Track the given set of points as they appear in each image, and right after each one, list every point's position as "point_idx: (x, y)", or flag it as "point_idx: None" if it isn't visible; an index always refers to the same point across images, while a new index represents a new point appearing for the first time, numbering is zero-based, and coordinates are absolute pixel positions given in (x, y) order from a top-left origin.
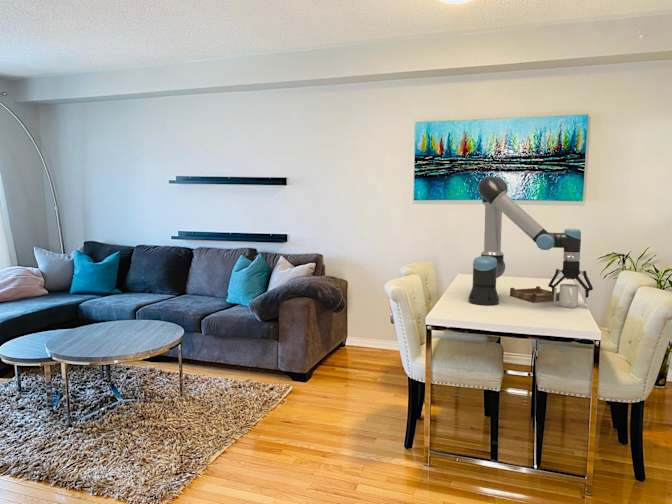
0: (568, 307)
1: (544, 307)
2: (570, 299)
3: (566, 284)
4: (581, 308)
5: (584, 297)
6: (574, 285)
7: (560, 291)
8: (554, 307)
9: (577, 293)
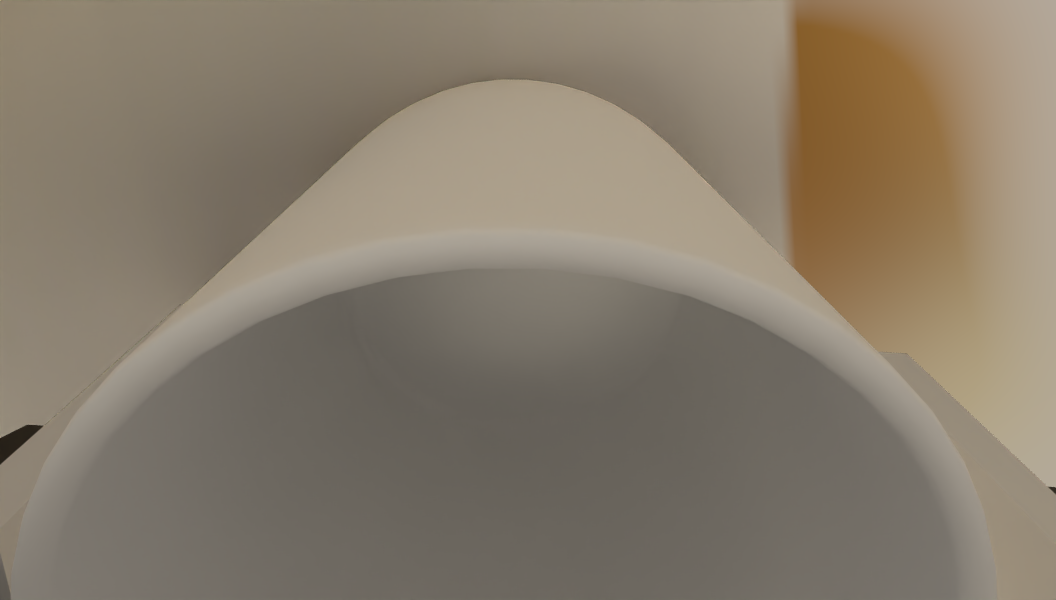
0: (528, 424)
1: None
2: (567, 553)
3: (300, 299)
4: None
5: None
6: (793, 339)
7: (236, 590)
8: None
9: (787, 563)
